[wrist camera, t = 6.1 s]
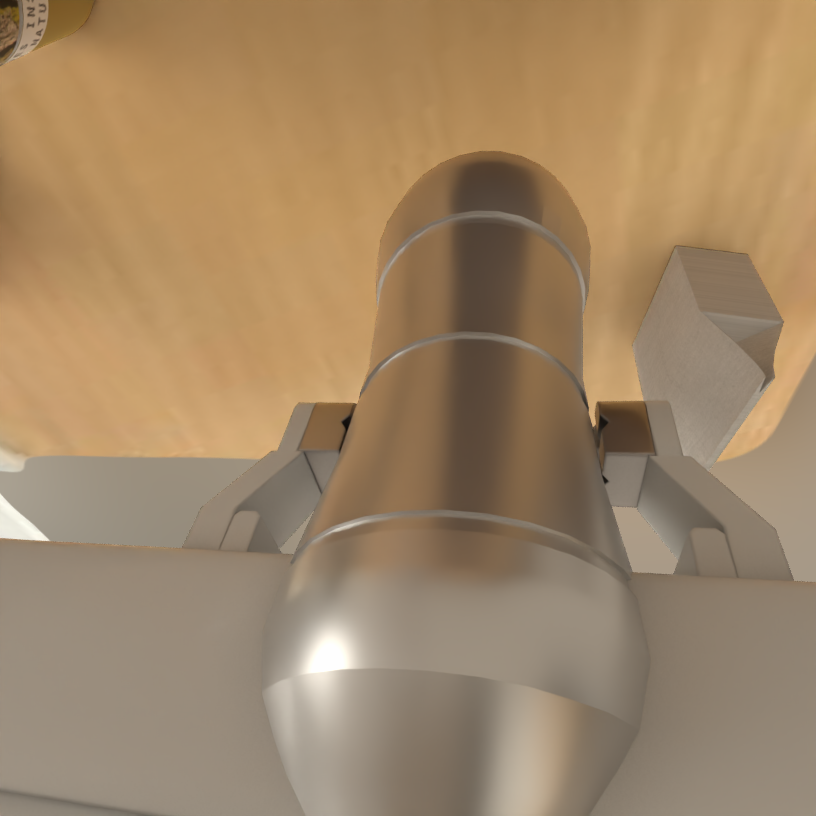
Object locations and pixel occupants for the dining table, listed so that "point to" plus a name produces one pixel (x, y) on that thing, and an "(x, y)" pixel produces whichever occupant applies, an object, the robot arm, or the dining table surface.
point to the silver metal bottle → (464, 533)
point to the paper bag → (708, 346)
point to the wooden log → (38, 24)
